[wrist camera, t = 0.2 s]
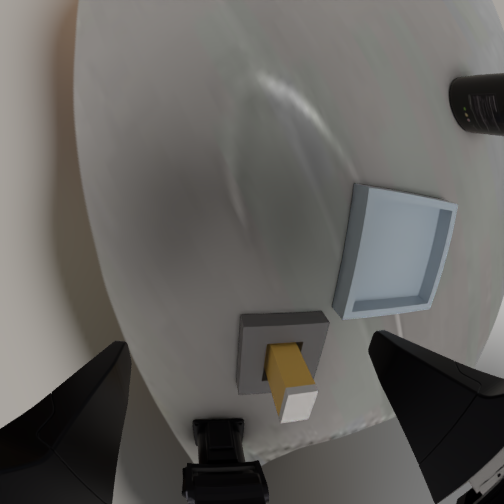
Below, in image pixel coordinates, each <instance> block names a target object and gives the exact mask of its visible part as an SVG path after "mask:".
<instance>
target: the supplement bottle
mask: <svg viewBox="0 0 504 504" xmlns="http://www.w3.org/2000/svg"><path fill="white" fill-rule="evenodd" d="M450 102H451V107H452V110H453V113H454V115H455V117H456V119H457V121H458V123H459V124H460V125H461V126H462V127H463V128H464V129H465V130H466V131H468V132H471V133H480V134H490V135H498V136H504V73H498V74H485V75H474V76H465V77H459V78H457V79H455V80H454V82H453V83H452V85H451V89H450Z"/></svg>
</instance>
